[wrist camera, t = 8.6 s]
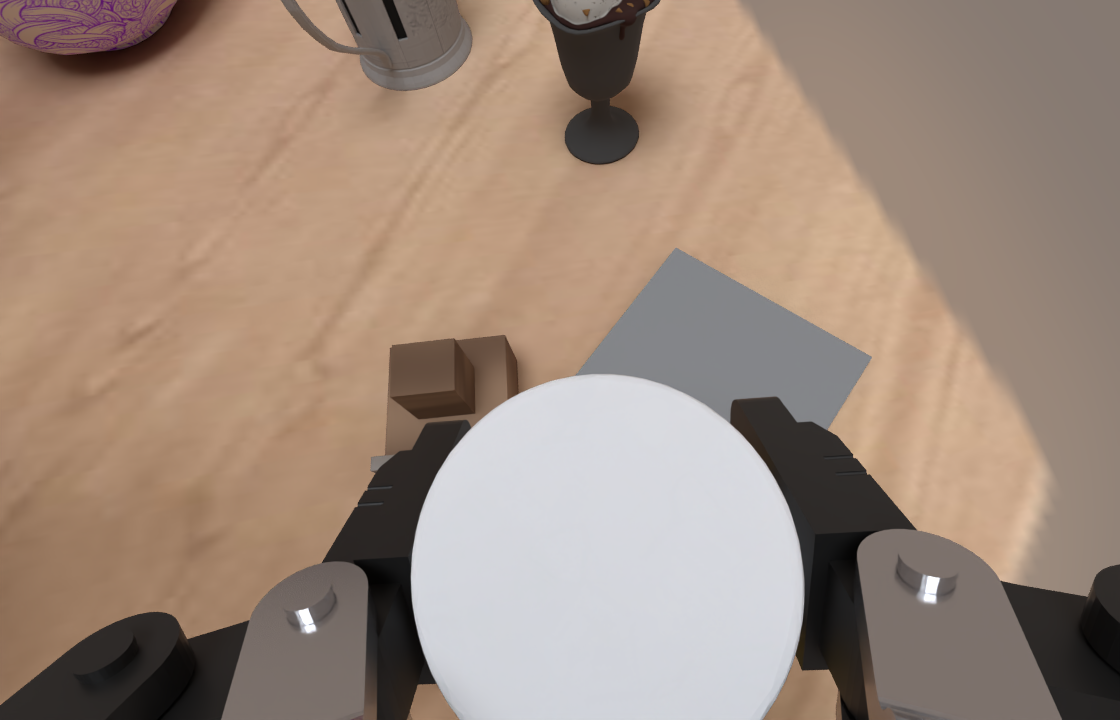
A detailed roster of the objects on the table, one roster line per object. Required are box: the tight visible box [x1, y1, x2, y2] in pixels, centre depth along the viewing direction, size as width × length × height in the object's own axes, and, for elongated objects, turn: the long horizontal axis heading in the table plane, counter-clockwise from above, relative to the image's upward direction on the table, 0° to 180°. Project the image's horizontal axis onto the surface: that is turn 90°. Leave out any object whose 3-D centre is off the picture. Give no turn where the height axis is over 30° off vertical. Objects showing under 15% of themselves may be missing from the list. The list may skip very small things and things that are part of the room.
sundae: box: [533, 0, 660, 164], centre depth 29 cm, size 7×7×15 cm
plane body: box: [371, 335, 518, 473], centre depth 25 cm, size 14×6×7 cm, turn 4°
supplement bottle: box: [411, 374, 804, 720], centre depth 9 cm, size 5×5×8 cm
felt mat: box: [576, 248, 872, 430], centre depth 29 cm, size 12×12×1 cm
